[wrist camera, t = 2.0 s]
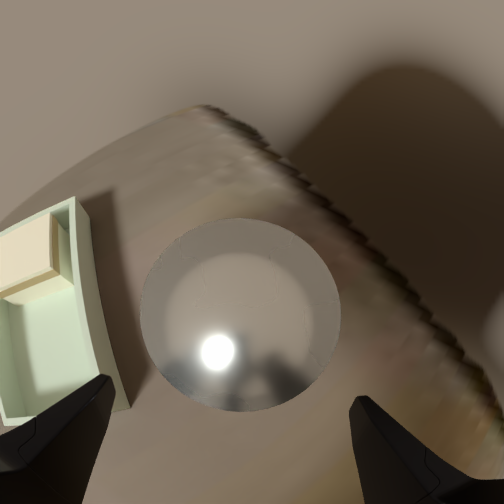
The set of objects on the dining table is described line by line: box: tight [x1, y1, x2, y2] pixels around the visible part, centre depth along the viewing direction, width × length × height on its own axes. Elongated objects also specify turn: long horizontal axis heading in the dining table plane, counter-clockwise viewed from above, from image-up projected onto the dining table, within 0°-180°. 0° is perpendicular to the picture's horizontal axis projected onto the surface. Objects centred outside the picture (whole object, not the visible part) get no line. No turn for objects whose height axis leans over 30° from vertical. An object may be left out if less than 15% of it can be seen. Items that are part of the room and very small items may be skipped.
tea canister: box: [140, 218, 341, 412], centre depth 13 cm, size 6×6×13 cm
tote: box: [0, 196, 130, 426], centre depth 17 cm, size 17×11×4 cm, turn 22°
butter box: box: [0, 213, 74, 307], centre depth 18 cm, size 5×7×4 cm
